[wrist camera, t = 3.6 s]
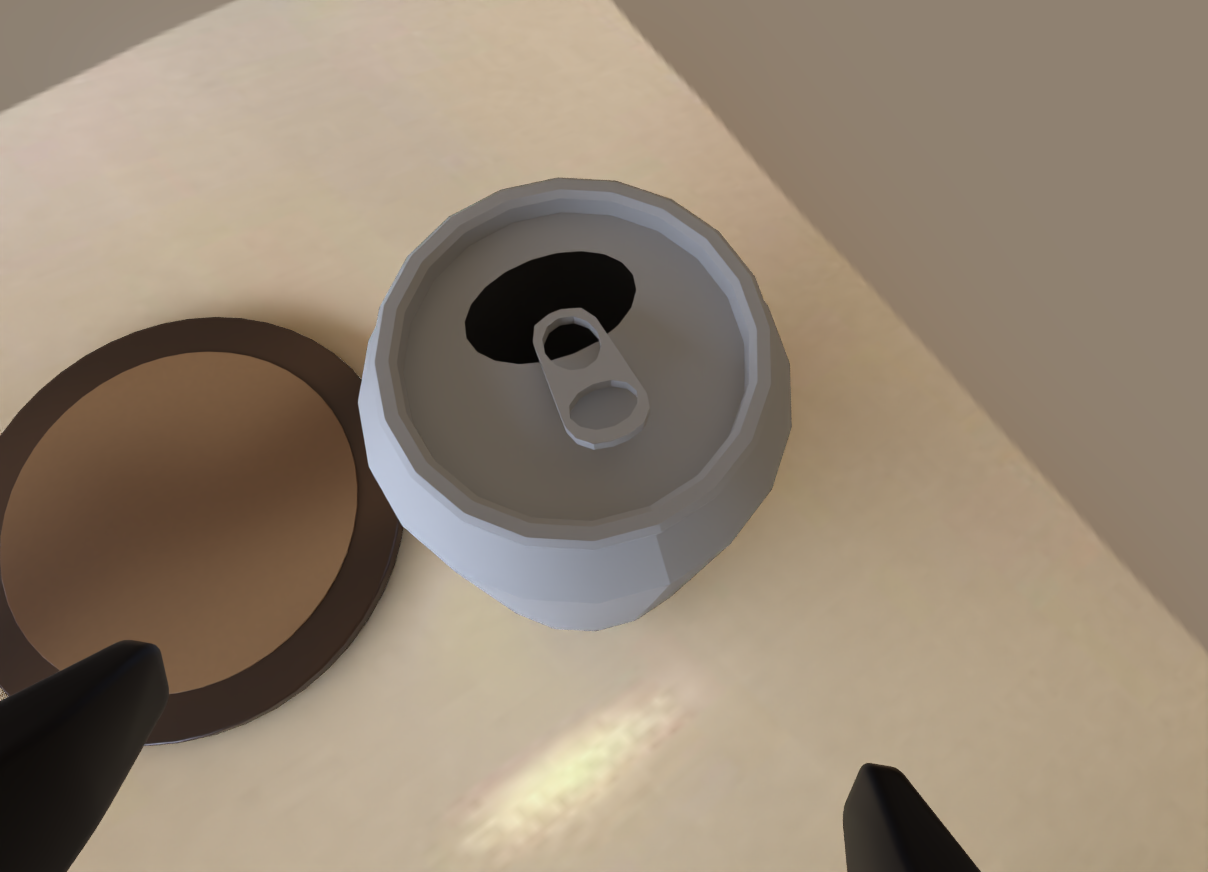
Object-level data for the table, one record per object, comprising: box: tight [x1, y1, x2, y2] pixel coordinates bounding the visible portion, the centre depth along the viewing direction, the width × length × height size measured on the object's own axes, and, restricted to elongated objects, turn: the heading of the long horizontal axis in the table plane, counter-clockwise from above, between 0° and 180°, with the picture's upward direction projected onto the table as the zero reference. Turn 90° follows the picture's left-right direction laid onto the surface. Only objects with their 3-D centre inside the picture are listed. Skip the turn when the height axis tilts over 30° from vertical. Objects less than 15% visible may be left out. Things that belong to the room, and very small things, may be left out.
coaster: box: [0, 317, 403, 746], centre depth 21 cm, size 13×13×1 cm
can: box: [358, 178, 792, 631], centre depth 16 cm, size 8×8×12 cm
